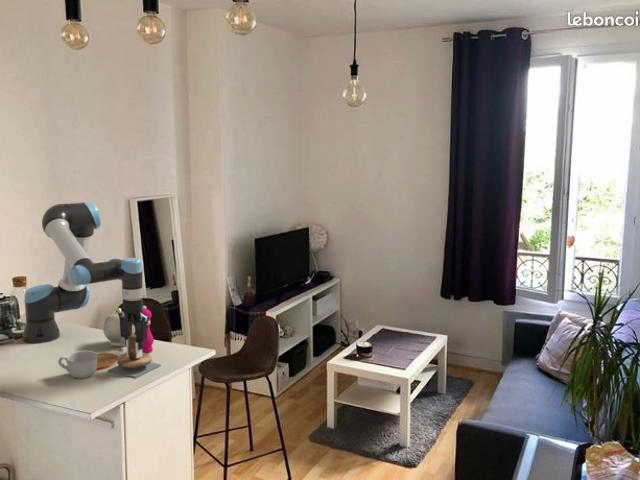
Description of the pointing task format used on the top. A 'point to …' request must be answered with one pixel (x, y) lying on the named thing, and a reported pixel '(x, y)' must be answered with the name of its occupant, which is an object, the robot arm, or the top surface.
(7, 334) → the top surface
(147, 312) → the pepper mill
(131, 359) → the lid
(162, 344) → the top surface
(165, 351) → the top surface
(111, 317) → the teapot
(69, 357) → the teacup
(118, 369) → the mat
